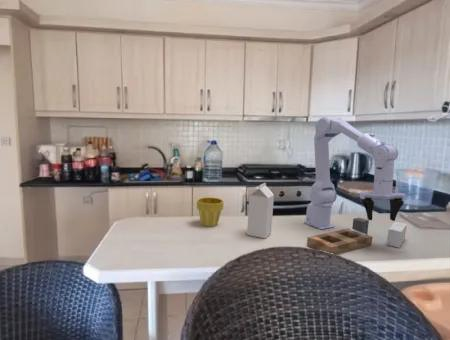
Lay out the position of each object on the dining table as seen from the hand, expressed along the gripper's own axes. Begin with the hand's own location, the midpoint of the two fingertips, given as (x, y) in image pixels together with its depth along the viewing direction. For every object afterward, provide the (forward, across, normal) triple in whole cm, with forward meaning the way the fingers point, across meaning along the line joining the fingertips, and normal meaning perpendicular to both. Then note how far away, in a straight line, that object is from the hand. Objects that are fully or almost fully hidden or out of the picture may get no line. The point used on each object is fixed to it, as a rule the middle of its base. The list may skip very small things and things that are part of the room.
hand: (381, 219), depth 109 cm
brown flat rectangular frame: (+9, -13, +1) cm, 16 cm away
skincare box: (+7, +13, +12) cm, 19 cm away
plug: (+9, -2, +14) cm, 17 cm away
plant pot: (+7, -60, +15) cm, 63 cm away
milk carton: (+8, -41, +7) cm, 42 cm away
